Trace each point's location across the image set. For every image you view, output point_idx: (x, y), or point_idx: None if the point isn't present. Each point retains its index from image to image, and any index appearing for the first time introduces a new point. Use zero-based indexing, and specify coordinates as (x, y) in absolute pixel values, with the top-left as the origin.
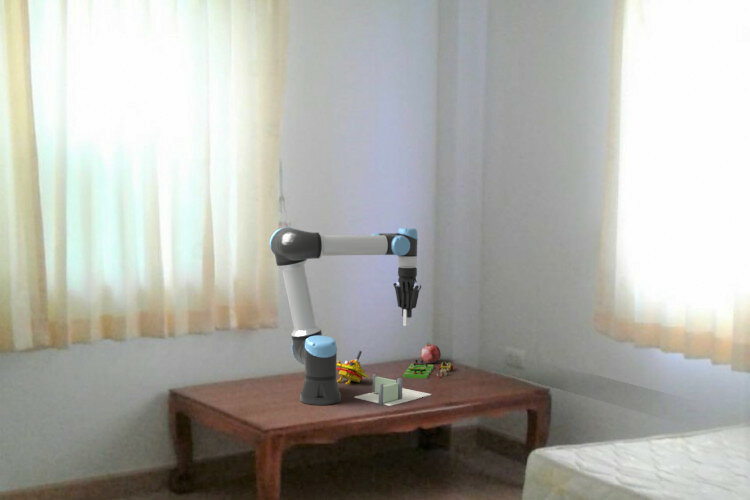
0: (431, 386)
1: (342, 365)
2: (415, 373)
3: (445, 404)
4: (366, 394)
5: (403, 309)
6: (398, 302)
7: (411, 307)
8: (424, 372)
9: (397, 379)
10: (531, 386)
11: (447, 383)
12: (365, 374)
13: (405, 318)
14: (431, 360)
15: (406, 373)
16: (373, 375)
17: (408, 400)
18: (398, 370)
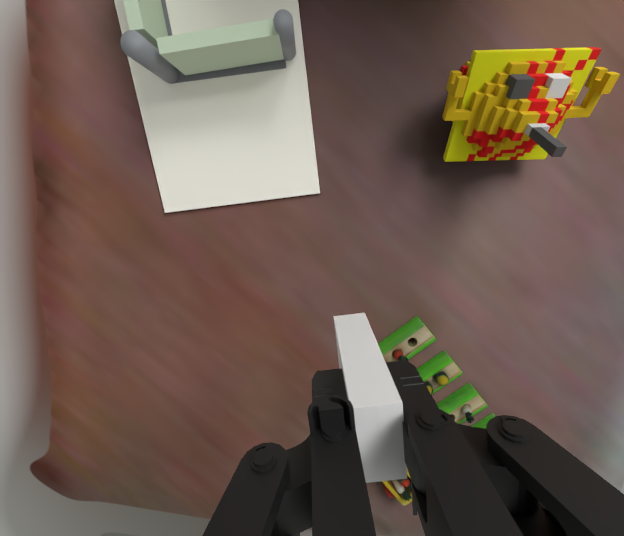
0: (263, 298)
1: (549, 49)
2: (395, 352)
3: (37, 158)
4: (291, 9)
5: (398, 402)
6: (565, 472)
7: (254, 458)
8: None
9: (135, 31)
10: (107, 500)
11: (266, 362)
12: (450, 142)
13: (345, 346)
14: None
15: (424, 337)
16: (282, 10)
17: (134, 83)
18: (498, 369)
